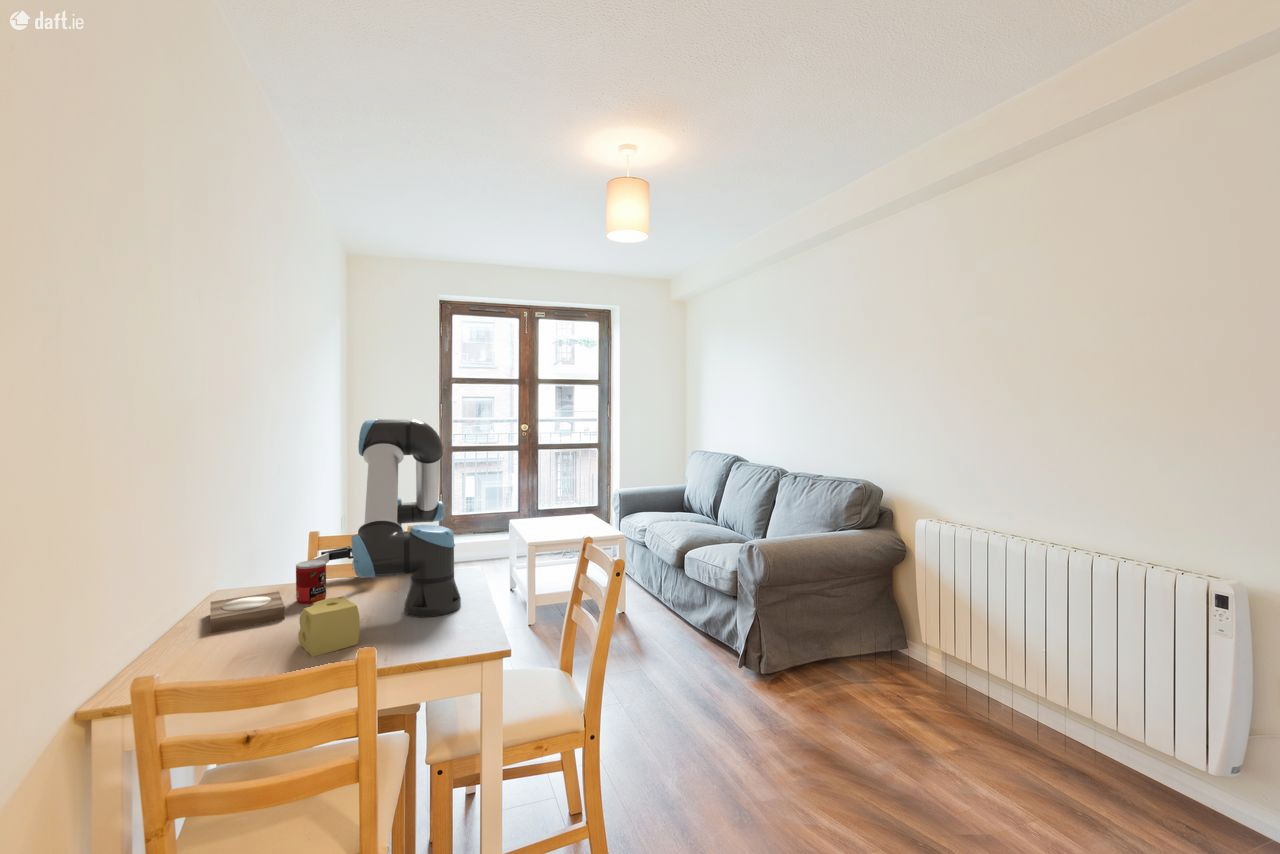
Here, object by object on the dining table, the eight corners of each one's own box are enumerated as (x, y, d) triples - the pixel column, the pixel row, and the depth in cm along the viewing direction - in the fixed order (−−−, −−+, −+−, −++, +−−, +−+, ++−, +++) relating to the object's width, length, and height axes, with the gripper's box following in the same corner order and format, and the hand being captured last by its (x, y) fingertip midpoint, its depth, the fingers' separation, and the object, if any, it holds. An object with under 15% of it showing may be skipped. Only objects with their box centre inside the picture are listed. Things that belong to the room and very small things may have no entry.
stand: (284, 619, 156) (284, 605, 156) (210, 632, 146) (210, 617, 146) (279, 603, 169) (278, 590, 169) (210, 614, 159) (210, 600, 159)
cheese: (298, 645, 139) (297, 604, 139) (346, 633, 147) (345, 594, 146) (311, 658, 132) (310, 615, 131) (360, 645, 139) (360, 604, 139)
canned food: (313, 605, 167) (313, 567, 167) (289, 603, 169) (289, 565, 169) (332, 596, 175) (332, 560, 175) (309, 595, 176) (309, 559, 176)
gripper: (407, 559, 201) (370, 577, 180) (341, 556, 205) (297, 573, 184) (407, 538, 201) (370, 553, 180) (341, 535, 204) (297, 550, 183)
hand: (333, 563), depth 182 cm, fingers open, 13 cm apart
